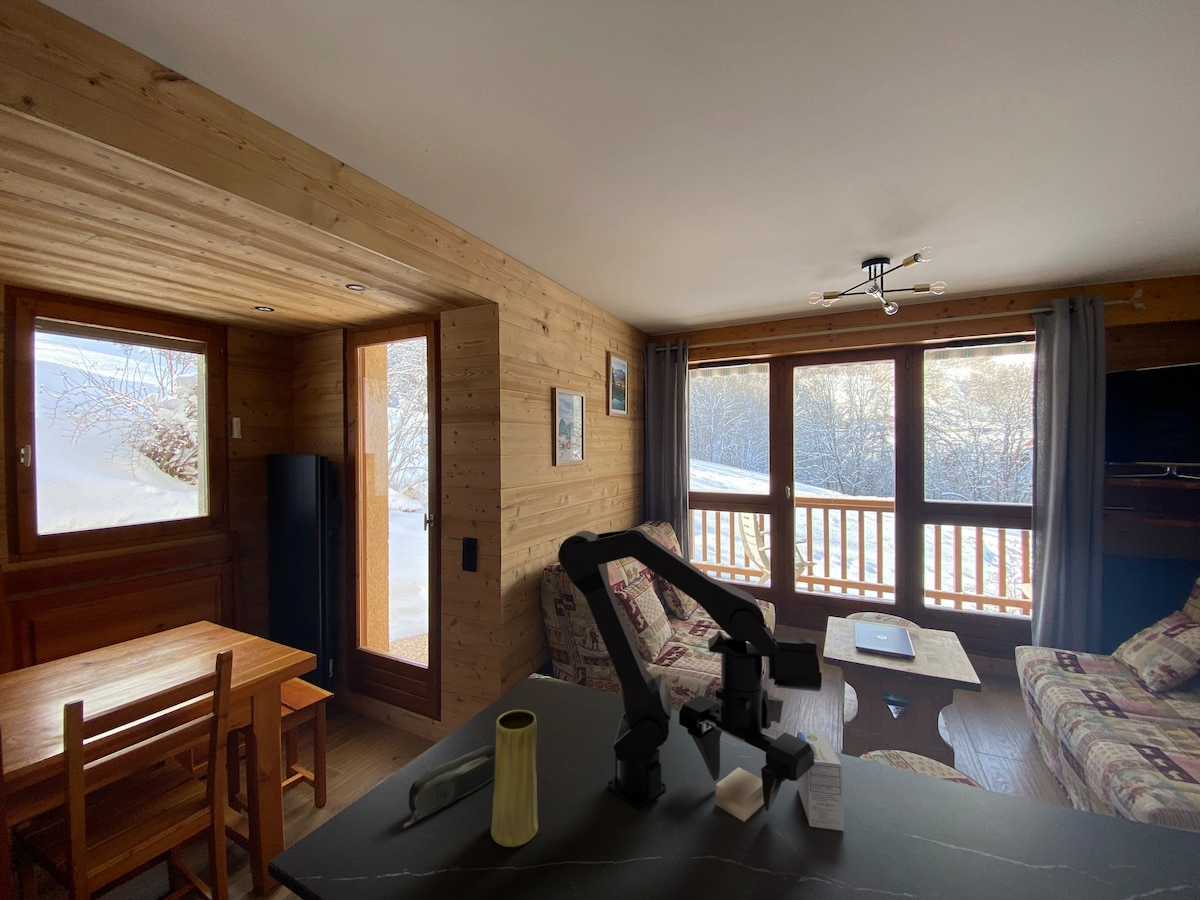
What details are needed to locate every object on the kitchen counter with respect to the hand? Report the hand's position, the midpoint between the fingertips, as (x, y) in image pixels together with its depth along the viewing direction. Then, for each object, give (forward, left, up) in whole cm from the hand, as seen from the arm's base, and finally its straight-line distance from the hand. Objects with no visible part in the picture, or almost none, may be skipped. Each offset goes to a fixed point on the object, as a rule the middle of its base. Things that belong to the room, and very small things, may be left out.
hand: (741, 793), depth 69 cm
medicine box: (+8, +7, -2) cm, 11 cm away
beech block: (0, 0, -2) cm, 2 cm away
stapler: (-28, -30, -2) cm, 42 cm away
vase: (-17, -27, -1) cm, 32 cm away
